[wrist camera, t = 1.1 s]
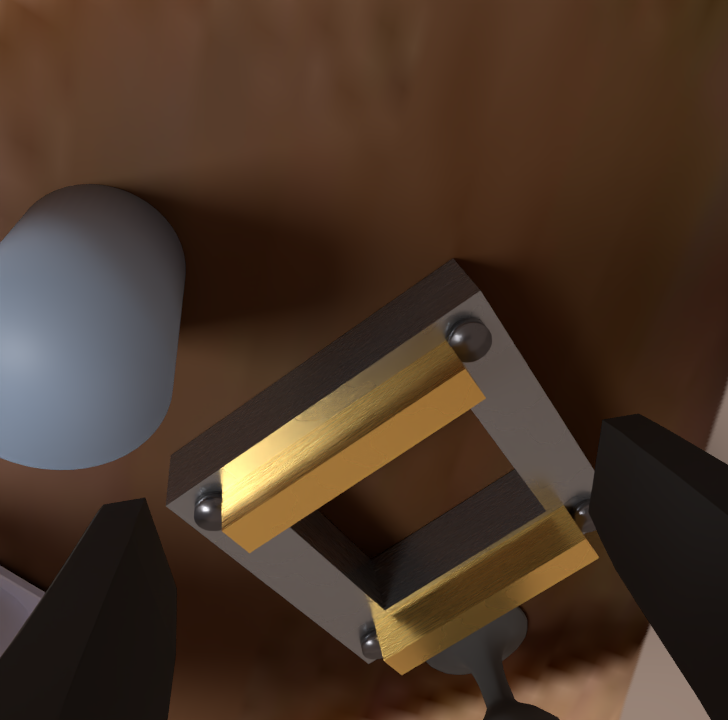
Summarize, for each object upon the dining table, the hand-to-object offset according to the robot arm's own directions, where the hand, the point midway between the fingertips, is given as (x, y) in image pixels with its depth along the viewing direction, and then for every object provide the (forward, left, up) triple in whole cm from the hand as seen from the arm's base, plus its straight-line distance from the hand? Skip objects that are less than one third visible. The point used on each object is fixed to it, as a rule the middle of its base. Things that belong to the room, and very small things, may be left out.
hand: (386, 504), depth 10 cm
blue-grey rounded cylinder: (-4, -4, -10) cm, 12 cm away
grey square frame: (+8, -2, -10) cm, 13 cm away
